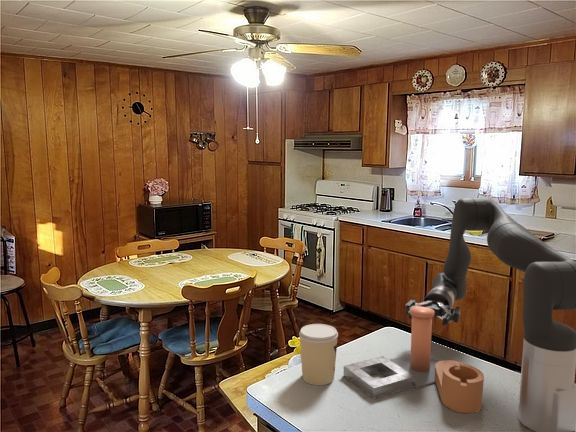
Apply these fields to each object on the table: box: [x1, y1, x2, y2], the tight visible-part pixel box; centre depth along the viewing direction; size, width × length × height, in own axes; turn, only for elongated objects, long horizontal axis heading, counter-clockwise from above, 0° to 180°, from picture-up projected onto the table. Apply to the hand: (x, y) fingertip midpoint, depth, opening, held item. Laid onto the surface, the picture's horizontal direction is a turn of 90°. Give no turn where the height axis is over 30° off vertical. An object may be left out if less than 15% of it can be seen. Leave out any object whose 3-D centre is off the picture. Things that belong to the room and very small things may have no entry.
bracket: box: [435, 359, 485, 414], centre depth 104 cm, size 18×8×7 cm, turn 170°
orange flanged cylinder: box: [410, 307, 435, 372], centre depth 114 cm, size 6×6×15 cm
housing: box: [343, 355, 415, 399], centre depth 109 cm, size 12×12×2 cm
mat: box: [389, 353, 440, 389], centre depth 115 cm, size 14×14×1 cm
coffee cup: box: [298, 323, 339, 386], centre depth 110 cm, size 9×9×12 cm
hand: (427, 319), depth 121 cm, fingers open, 8 cm apart
